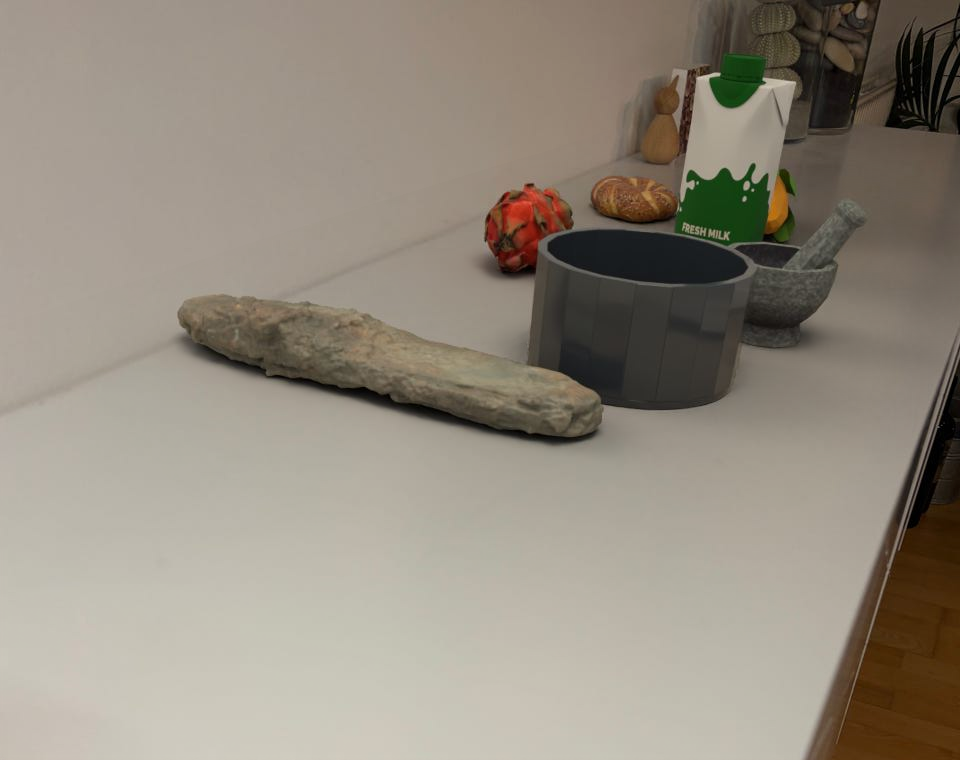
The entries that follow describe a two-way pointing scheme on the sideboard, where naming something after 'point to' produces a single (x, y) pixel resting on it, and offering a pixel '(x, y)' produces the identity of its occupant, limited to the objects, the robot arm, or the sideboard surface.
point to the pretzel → (633, 199)
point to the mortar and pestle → (795, 278)
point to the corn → (781, 207)
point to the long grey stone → (390, 363)
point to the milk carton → (733, 152)
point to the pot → (641, 314)
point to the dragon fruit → (524, 225)
